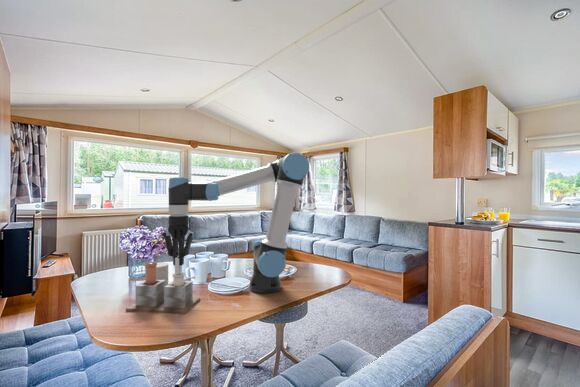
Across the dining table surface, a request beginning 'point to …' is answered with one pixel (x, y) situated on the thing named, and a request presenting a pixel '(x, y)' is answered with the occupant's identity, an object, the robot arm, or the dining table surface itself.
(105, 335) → the dining table surface
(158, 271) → the beige rectangular block
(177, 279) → the plug cream
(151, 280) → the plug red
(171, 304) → the socket board
